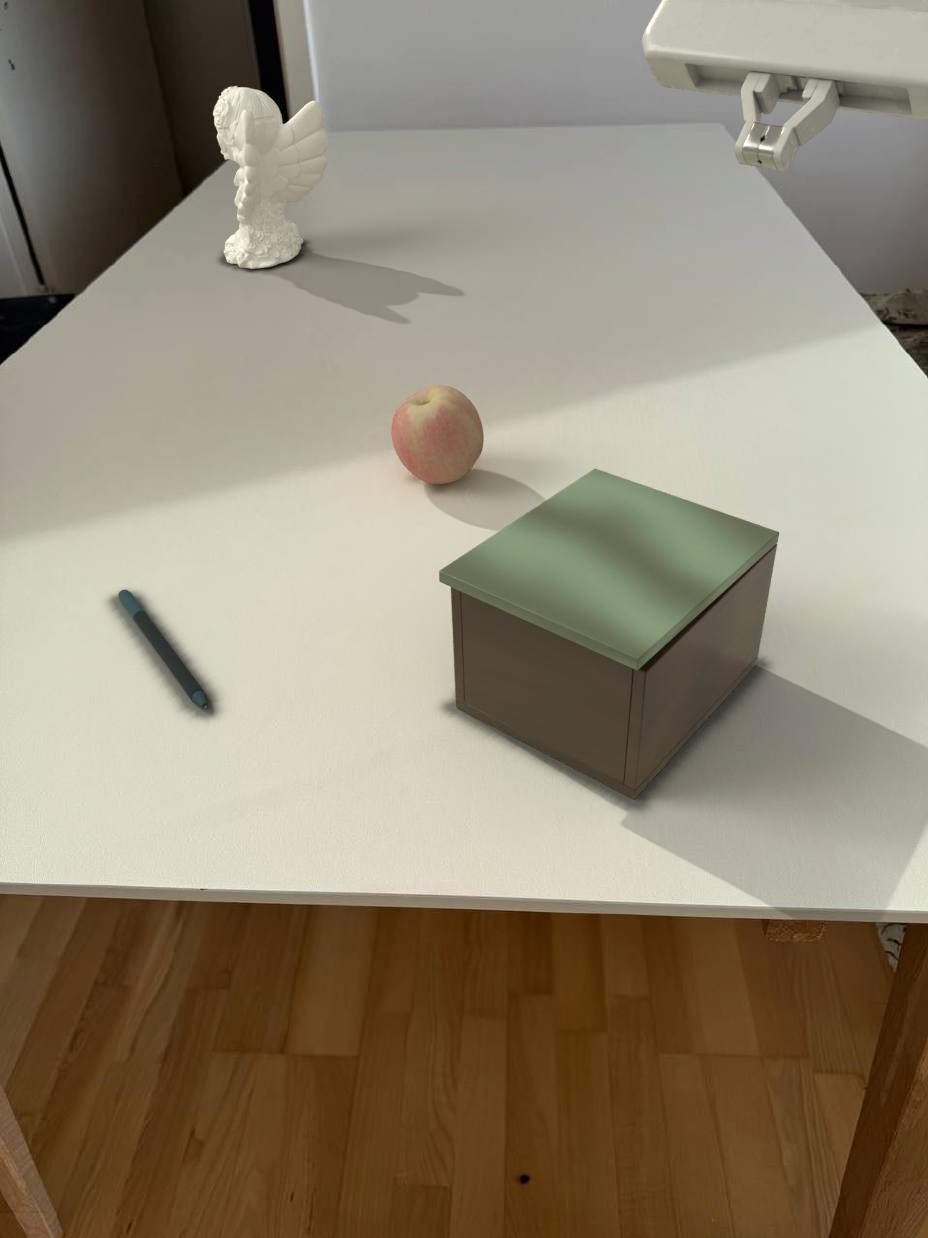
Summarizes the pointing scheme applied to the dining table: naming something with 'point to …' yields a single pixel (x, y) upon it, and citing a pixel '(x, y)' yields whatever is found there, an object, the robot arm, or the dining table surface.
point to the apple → (437, 434)
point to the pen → (163, 648)
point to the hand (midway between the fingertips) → (759, 162)
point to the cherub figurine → (268, 171)
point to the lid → (611, 565)
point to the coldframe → (606, 682)
